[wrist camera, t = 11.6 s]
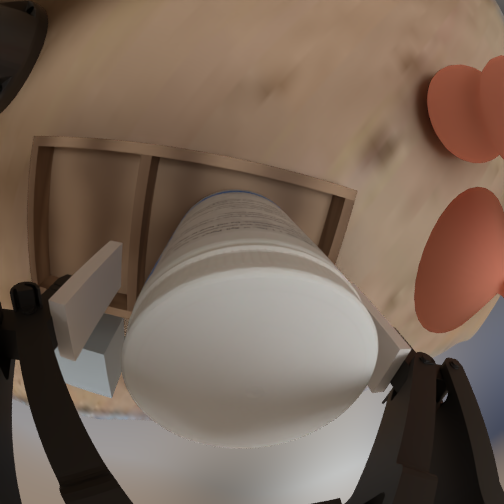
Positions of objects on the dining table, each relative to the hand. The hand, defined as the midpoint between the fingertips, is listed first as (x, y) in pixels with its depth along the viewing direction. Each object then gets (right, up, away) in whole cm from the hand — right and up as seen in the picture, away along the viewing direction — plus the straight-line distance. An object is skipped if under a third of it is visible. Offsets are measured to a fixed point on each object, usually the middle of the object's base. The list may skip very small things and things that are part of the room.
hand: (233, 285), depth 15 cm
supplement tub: (0, +2, +7) cm, 8 cm away
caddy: (-6, +3, +7) cm, 10 cm away
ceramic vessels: (+27, +6, +10) cm, 29 cm away
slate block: (-15, -7, +10) cm, 19 cm away
